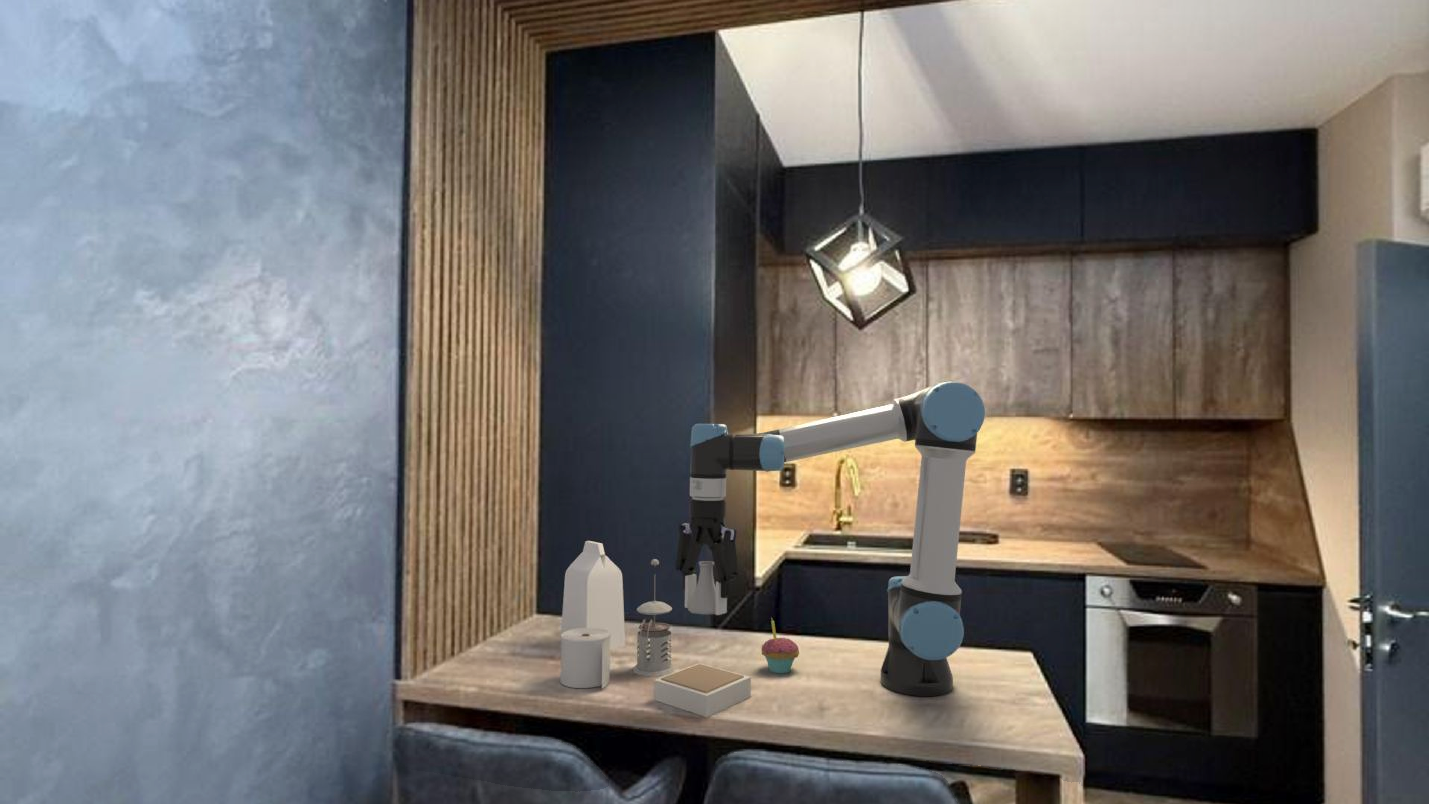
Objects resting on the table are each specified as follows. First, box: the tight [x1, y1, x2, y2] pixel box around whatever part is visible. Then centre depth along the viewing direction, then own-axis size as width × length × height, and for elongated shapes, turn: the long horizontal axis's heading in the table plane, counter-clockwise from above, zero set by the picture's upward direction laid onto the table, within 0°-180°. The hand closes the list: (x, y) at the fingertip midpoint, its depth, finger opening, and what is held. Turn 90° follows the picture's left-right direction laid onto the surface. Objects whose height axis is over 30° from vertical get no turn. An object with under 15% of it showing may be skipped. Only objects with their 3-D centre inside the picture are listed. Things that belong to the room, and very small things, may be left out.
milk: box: [560, 540, 626, 651], centre depth 187 cm, size 12×12×26 cm
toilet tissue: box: [560, 628, 611, 690], centre depth 161 cm, size 11×12×10 cm
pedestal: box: [653, 663, 752, 718], centre depth 150 cm, size 14×14×4 cm
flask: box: [687, 560, 716, 615], centre depth 151 cm, size 7×7×10 cm
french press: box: [632, 558, 676, 677], centre depth 168 cm, size 10×12×25 cm
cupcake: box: [761, 617, 800, 674], centre depth 168 cm, size 9×8×12 cm
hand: (705, 609), depth 151 cm, fingers closed on flask, 8 cm apart
